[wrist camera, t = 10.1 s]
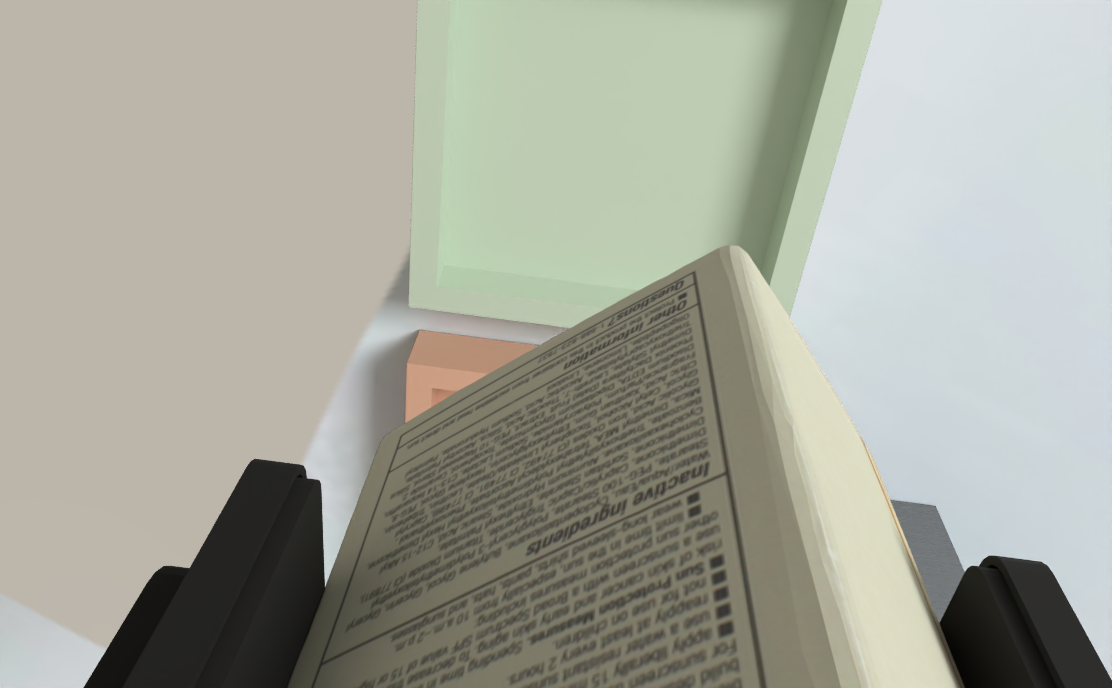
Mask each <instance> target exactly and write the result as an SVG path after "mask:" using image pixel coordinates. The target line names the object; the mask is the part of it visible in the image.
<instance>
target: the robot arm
mask: <svg viewBox="0 0 1112 688" xmlns="http://www.w3.org/2000/svg"><path fill="white" fill-rule="evenodd" d="M324 590H325V579H324V550H323V522H322V493H321V483H320V481H319V480H315V479H307V476H306V470H305V468H304V466H303V465H298V464H290V463H283V462H275V461H268V460H259V459H254V460H252V461H251V462H250V463H249V465H248V466H247V467H246V469H245V471H244V473H243V474H242V476H241V478H240V480H239V482H238V483H237V485H236V487H235V489H234V491H233V492H232V494H231V496H230V498H229V499H228V501H227V503H226V505H225V506H224V508H223V510H222V512H221V514H220V515H219V517H218V519H217V521H216V522H215V524H214V526H213V528H212V530H211V532H210V533H209V535H208V537H207V539H206V540H205V542H204V544H203V546H202V547H201V549H200V551H199V553H198V555H197V556H196V558H195V560H194V562H193V563H192V565H191V567H190V568H183V567H175V566H163V567H162V568H161V569H159V570H158V571H156V572H155V573H154V575H153V576H152V577H151V579H150V580H149V581H148V583H147V584H146V586H145V588H144V589H143V591H142V593H141V594H140V596H139V598H138V599H137V601H136V602H135V604H134V606H133V607H132V609H131V611H130V612H129V614H128V615H127V617H126V619H125V621H124V622H123V624H122V625H121V627H120V629H119V630H118V632H117V634H116V635H115V637H114V638H113V640H112V642H111V643H110V645H109V647H108V648H107V650H106V652H105V653H104V655H103V657H102V658H101V660H100V662H99V663H98V665H97V667H96V668H95V670H94V671H93V673H92V675H91V676H90V678H89V680H88V681H87V683H86V685H85V686H84V688H287V687H288V684H289V681H290V679H291V676H292V673H293V671H294V668H295V666H296V663H297V660H298V658H299V655H300V653H301V650H302V648H303V645H304V643H305V640H306V638H307V635H308V632H309V630H310V627H311V624H312V622H313V619H314V616H315V614H316V611H317V609H318V606H319V604H320V601H321V599H322V596H323V593H324ZM939 624H940V626H941V629H942V631H943V634H944V636H945V639H946V641H947V644H948V646H949V649H950V651H951V654H952V656H953V659H954V661H955V664H956V666H957V669H958V671H959V674H960V676H961V679H962V681H963V684H964V686H965V688H1112V680H1111V678H1110V676H1109V675H1108V673H1107V671H1106V669H1105V667H1104V665H1103V664H1102V662H1101V660H1100V658H1099V656H1098V655H1097V653H1096V651H1095V649H1094V647H1093V645H1092V644H1091V642H1090V640H1089V638H1088V636H1087V634H1086V633H1085V631H1084V629H1083V627H1082V625H1081V624H1080V622H1079V620H1078V618H1077V616H1076V614H1075V613H1074V611H1073V609H1072V607H1071V605H1070V604H1069V602H1068V600H1067V598H1066V596H1065V594H1064V593H1063V591H1062V589H1061V587H1060V585H1059V583H1058V582H1057V580H1056V578H1055V576H1054V574H1053V573H1052V571H1051V570H1050V569H1049V567H1048V566H1047V565H1045V564H1044V563H1042V562H1038V561H1031V560H1023V559H1016V558H1008V557H1000V556H988V557H986V558H985V559H984V560H983V561H982V562H981V564H980V565H979V566H971V567H969V568H968V569H967V570H966V571H965V573H964V575H963V577H962V579H961V581H960V583H959V585H958V587H957V589H956V591H955V593H954V595H953V597H952V599H951V601H950V603H949V605H948V607H947V609H946V611H945V613H944V615H943V617H942V619H941V621H940V623H939Z"/></svg>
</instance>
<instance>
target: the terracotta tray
mask: <svg viewBox="0 0 1112 688" xmlns="http://www.w3.org/2000/svg"><path fill="white" fill-rule="evenodd" d="M536 347H538V345H531V344H523V343H515V342H508V341H500V340H492V339H485V338H477V337H469V336H462V335H454V334H446V333H438V332H431V331H423V330H419V333H418V335H417V338H416V341H415V343H414V346H413V349H412V351H411V354H410V357H409V359H408V362H407V377H406V411H405V423H406V422H408V421H409V420H411V419H413V418H414V417H416V416H418V415H419V414H421V413H423V412H424V411H426V410H428V409H429V408H431V407H433V406H434V405H436V404H437V403H439V402H441V401H442V400H444V399H446V398H447V397H449V396H450V395H452V394H454V393H455V392H457V391H459V390H461V389H463V388H464V387H466V386H468V385H470V384H472V383H474V382H475V381H477V380H479V379H480V378H482V377H484V376H486V375H487V374H489V373H491V372H493V371H494V370H496V369H498V368H500V367H502V366H503V365H505V364H507V363H509V362H511V361H512V360H514V359H516V358H518V357H520V356H522V355H523V354H525V353H527V352H529V351H531V350H532V349H534V348H536Z"/></svg>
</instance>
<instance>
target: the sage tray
mask: <svg viewBox="0 0 1112 688" xmlns="http://www.w3.org/2000/svg"><path fill="white" fill-rule="evenodd" d="M881 3H882V0H417V30H416V65H415V100H414V134H413V170H412V171H413V172H412V203H411V238H410V273H409V307H412V308H420V309H427V310H435V311H443V312H450V313H458V314H466V315H473V316H481V317H489V318H496V319H504V320H512V321H519V322H527V323H535V324H542V325H550V326H558V327H565V328H572V327H573V326H575V325H577V324H579V323H580V322H582V321H584V320H585V319H587V318H589V317H591V316H593V315H595V314H597V313H598V312H600V311H602V310H604V309H606V308H607V307H609V306H611V305H613V304H615V303H616V302H618V301H620V300H622V299H624V298H625V297H627V296H629V295H631V294H633V293H635V292H637V291H639V290H640V289H642V288H644V287H646V286H648V285H650V284H652V283H653V282H655V281H657V280H659V279H661V278H664V277H666V276H668V275H669V274H671V273H673V272H675V271H676V270H678V269H680V268H682V267H683V266H685V265H687V264H689V263H691V262H693V261H695V260H697V259H699V258H701V257H703V256H705V255H707V254H708V253H710V252H712V251H714V250H716V249H717V248H720V247H723V246H726V245H735V246H739V247H741V248H742V249H743V250H744V251H746V252H747V253H748V255H749V256H750V258H751V259H752V261H753V262H754V264H755V265H756V267H757V268H758V270H759V271H760V273H761V275H762V276H763V278H764V279H765V281H766V282H767V284H768V285H769V287H770V288H771V290H772V291H773V293H774V294H775V296H776V298H777V299H778V301H779V302H780V304H781V305H782V307H783V308H784V310H785V311H786V313H787V315H788V316H789V318H790V314H791V311H792V308H793V304H794V301H795V297H796V294H797V291H798V287H799V284H800V280H801V277H802V273H803V270H804V267H805V263H806V260H807V256H808V253H809V250H810V246H811V243H812V239H813V236H814V232H815V229H816V226H817V222H818V219H819V215H820V212H821V209H822V205H823V202H824V198H825V195H826V191H827V188H828V185H829V181H830V178H831V174H832V171H833V167H834V164H835V161H836V157H837V154H838V150H839V147H840V144H841V140H842V137H843V133H844V130H845V126H846V123H847V120H848V116H849V113H850V109H851V106H852V103H853V99H854V96H855V92H856V89H857V85H858V82H859V79H860V75H861V72H862V68H863V65H864V62H865V58H866V55H867V51H868V48H869V44H870V41H871V38H872V34H873V31H874V27H875V24H876V21H877V17H878V14H879V10H880V7H881Z"/></svg>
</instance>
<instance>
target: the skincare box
mask: <svg viewBox="0 0 1112 688" xmlns="http://www.w3.org/2000/svg"><path fill="white" fill-rule="evenodd" d="M287 688H965V686H964V684H963V681H962V679H961V676H960V674H959V671H958V669H957V666H956V664H955V661H954V659H953V656H952V654H951V651H950V649H949V646H948V644H947V641H946V639H945V636H944V634H943V631H942V629H941V626H940V624H939V621H938V619H937V616H936V614H935V611H934V609H933V606H932V604H931V601H930V599H929V596H928V594H927V591H926V589H925V586H924V584H923V581H922V579H921V576H920V574H919V571H918V569H917V566H916V564H915V561H914V559H913V556H912V554H911V551H910V549H909V546H908V543H907V541H906V538H905V536H904V533H903V531H902V528H901V526H900V523H899V521H898V518H897V516H896V513H895V511H894V508H893V506H892V503H891V501H890V498H889V496H888V493H887V491H886V488H885V486H884V483H883V481H882V479H881V476H880V474H879V471H878V469H877V466H876V464H875V461H874V459H873V457H872V455H871V453H870V451H869V450H868V448H867V446H866V445H865V443H864V441H863V440H862V438H861V436H860V434H859V433H858V431H857V429H856V427H855V425H854V424H853V422H852V420H851V419H850V417H849V415H848V413H847V412H846V410H845V408H844V407H843V405H842V403H841V401H840V400H839V398H838V396H837V394H836V393H835V391H834V389H833V388H832V386H831V384H830V383H829V381H828V380H827V378H826V376H825V375H824V373H823V371H822V370H821V368H820V367H819V365H818V363H817V362H816V360H815V359H814V357H813V355H812V354H811V352H810V350H809V349H808V347H807V346H806V344H805V342H804V341H803V339H802V337H801V336H800V334H799V333H798V331H797V329H796V328H795V326H794V324H793V323H792V321H791V320H790V318H789V316H788V315H787V313H786V311H785V310H784V308H783V307H782V305H781V304H780V302H779V301H778V299H777V298H776V296H775V294H774V293H773V291H772V290H771V288H770V287H769V285H768V284H767V282H766V281H765V279H764V278H763V276H762V275H761V273H760V271H759V270H758V268H757V267H756V265H755V264H754V262H753V261H752V259H751V258H750V256H749V255H748V253H747V252H746V251H744V250H743V249H742V248H741V247H739V246H735V245H726V246H723V247H720V248H717V249H716V250H714V251H712V252H710V253H708V254H707V255H705V256H703V257H701V258H699V259H697V260H695V261H693V262H691V263H689V264H687V265H685V266H683V267H682V268H680V269H678V270H676V271H675V272H673V273H671V274H669V275H668V276H666V277H664V278H661V279H659V280H657V281H655V282H653V283H652V284H650V285H648V286H646V287H644V288H642V289H640V290H639V291H637V292H635V293H633V294H631V295H629V296H627V297H625V298H624V299H622V300H620V301H618V302H616V303H615V304H613V305H611V306H609V307H607V308H606V309H604V310H602V311H600V312H598V313H597V314H595V315H593V316H591V317H589V318H587V319H585V320H584V321H582V322H580V323H579V324H577V325H575V326H573V327H572V328H570V329H568V330H567V331H565V332H563V333H561V334H559V335H557V336H556V337H554V338H552V339H550V340H548V341H546V342H545V343H543V344H541V345H539V346H538V347H536V348H534V349H532V350H531V351H529V352H527V353H525V354H523V355H522V356H520V357H518V358H516V359H514V360H512V361H511V362H509V363H507V364H505V365H503V366H502V367H500V368H498V369H496V370H494V371H493V372H491V373H489V374H487V375H486V376H484V377H482V378H480V379H479V380H477V381H475V382H474V383H472V384H470V385H468V386H466V387H464V388H463V389H461V390H459V391H457V392H455V393H454V394H452V395H450V396H449V397H447V398H446V399H444V400H442V401H441V402H439V403H437V404H436V405H434V406H433V407H431V408H429V409H428V410H426V411H424V412H423V413H421V414H419V415H418V416H416V417H414V418H413V419H411V420H409V421H408V422H406V423H404V424H403V425H401V426H399V427H398V428H396V429H394V430H393V431H391V432H390V433H388V434H387V435H386V436H385V437H384V438H383V439H382V441H381V442H380V445H379V447H378V450H377V452H376V455H375V458H374V460H373V463H372V465H371V468H370V471H369V474H368V476H367V479H366V481H365V484H364V486H363V489H362V491H361V494H360V497H359V500H358V502H357V505H356V508H355V510H354V513H353V515H352V518H351V520H350V523H349V526H348V528H347V531H346V534H345V536H344V539H343V542H342V545H341V547H340V550H339V553H338V555H337V558H336V560H335V563H334V566H333V568H332V571H331V573H330V576H329V579H328V581H327V584H326V587H325V590H324V593H323V596H322V599H321V601H320V604H319V606H318V609H317V611H316V614H315V616H314V619H313V622H312V624H311V627H310V630H309V632H308V635H307V638H306V640H305V643H304V645H303V648H302V650H301V653H300V655H299V658H298V660H297V663H296V666H295V668H294V671H293V673H292V676H291V679H290V681H289V684H288V687H287Z"/></svg>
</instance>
